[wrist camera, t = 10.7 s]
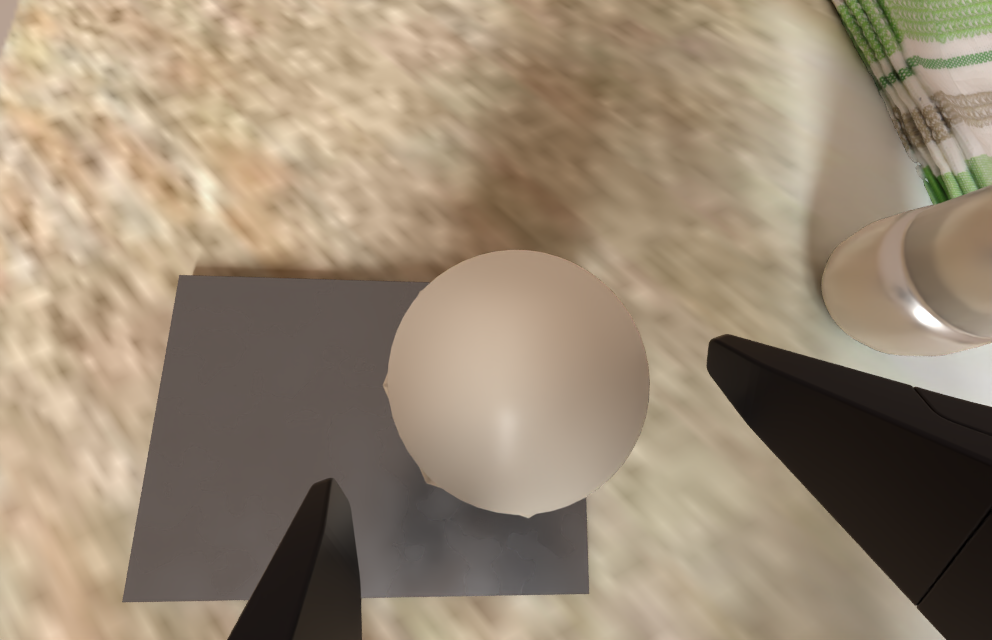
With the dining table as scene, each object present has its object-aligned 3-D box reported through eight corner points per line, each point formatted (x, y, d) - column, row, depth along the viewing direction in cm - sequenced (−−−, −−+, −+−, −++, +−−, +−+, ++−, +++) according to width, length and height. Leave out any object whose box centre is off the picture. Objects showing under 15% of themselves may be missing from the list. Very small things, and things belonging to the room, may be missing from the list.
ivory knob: (577, 352, 20) (675, 296, 11) (538, 485, 18) (612, 554, 9) (452, 309, 20) (441, 216, 11) (404, 439, 19) (344, 461, 9)
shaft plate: (574, 291, 21) (601, 261, 17) (583, 586, 18) (618, 635, 14) (190, 280, 20) (118, 245, 16) (137, 593, 17) (33, 650, 13)
